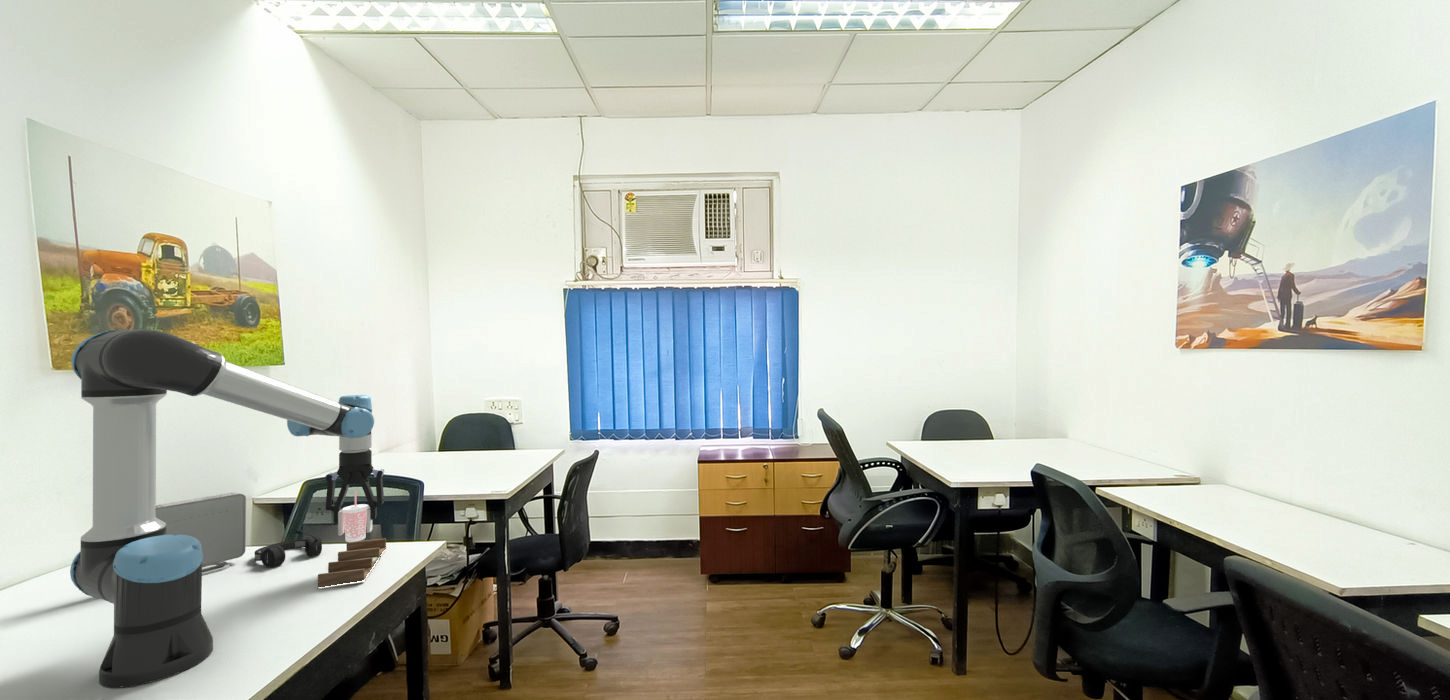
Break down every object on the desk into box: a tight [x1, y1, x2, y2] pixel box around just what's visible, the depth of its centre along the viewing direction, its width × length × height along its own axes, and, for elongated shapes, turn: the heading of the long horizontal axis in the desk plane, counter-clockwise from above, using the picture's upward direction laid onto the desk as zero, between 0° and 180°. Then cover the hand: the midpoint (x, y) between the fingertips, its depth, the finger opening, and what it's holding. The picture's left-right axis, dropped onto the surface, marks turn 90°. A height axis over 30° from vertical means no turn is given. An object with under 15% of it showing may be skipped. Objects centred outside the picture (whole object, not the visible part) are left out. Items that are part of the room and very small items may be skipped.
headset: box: [254, 529, 323, 568], centre depth 158 cm, size 14×10×20 cm
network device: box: [156, 491, 247, 577], centre depth 145 cm, size 26×9×20 cm, turn 148°
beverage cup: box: [341, 488, 370, 543], centre depth 151 cm, size 6×6×14 cm
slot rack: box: [317, 537, 387, 588], centre depth 151 cm, size 26×10×4 cm, turn 21°
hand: (355, 532), depth 151 cm, fingers closed on beverage cup, 6 cm apart
